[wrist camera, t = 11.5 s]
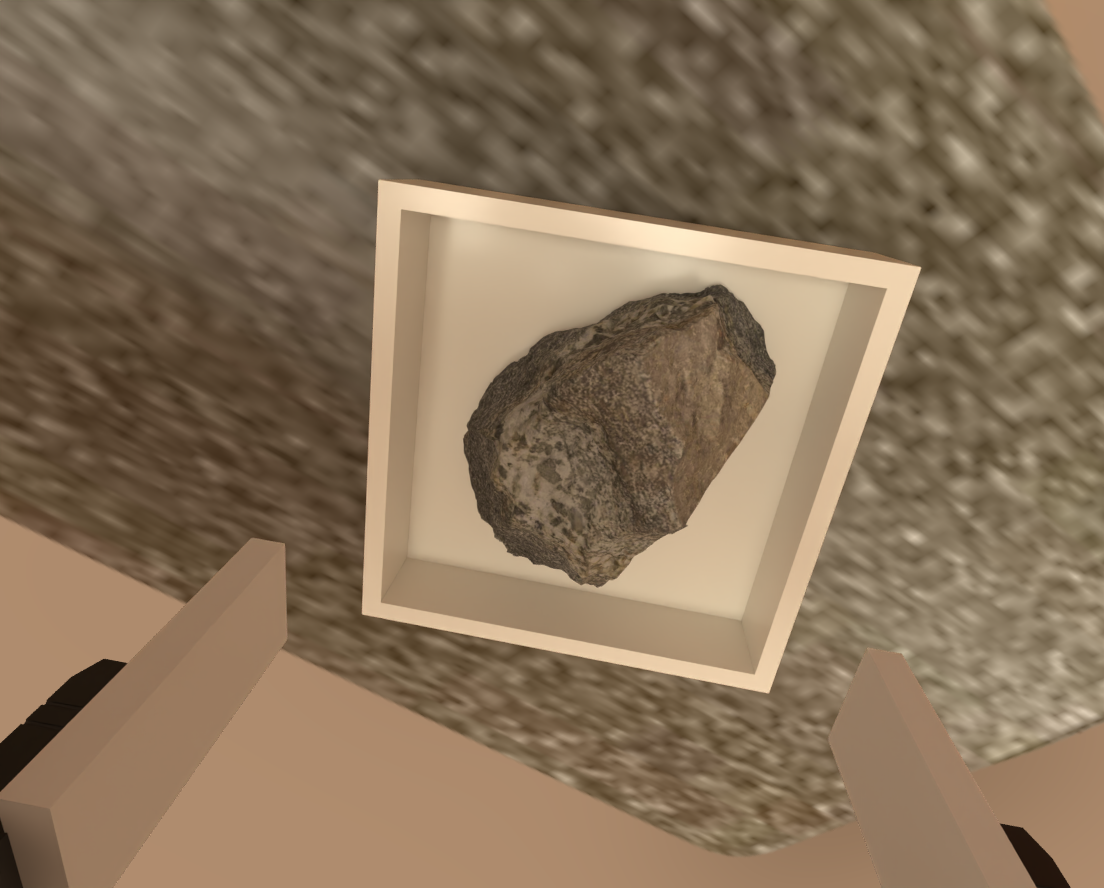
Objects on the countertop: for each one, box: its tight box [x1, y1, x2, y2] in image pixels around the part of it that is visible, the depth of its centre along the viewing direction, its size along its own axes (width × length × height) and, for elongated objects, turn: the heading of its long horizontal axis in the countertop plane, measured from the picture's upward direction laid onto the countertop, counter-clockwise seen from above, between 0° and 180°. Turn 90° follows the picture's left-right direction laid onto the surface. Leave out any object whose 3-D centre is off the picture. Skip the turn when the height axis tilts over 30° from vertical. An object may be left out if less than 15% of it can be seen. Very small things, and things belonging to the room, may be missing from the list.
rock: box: [463, 284, 776, 588], centre depth 24 cm, size 13×9×6 cm, turn 143°
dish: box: [362, 179, 921, 693], centre depth 26 cm, size 18×18×4 cm
